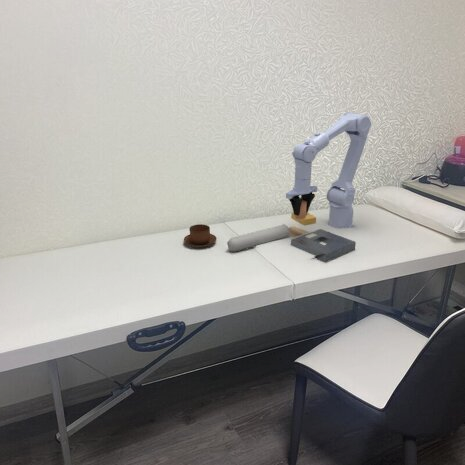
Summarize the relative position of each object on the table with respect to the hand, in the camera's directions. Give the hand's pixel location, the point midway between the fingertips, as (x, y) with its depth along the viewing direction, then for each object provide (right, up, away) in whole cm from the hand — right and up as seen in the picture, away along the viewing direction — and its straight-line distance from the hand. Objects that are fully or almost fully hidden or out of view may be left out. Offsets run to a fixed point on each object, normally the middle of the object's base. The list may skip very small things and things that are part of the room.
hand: (300, 213), depth 161 cm
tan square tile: (-2, -8, +6) cm, 10 cm away
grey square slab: (+7, -13, -6) cm, 16 cm away
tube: (-17, -8, -2) cm, 19 cm away
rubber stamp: (+4, -3, +18) cm, 18 cm away
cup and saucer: (-37, -11, -1) cm, 39 cm away
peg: (0, -1, +1) cm, 1 cm away
